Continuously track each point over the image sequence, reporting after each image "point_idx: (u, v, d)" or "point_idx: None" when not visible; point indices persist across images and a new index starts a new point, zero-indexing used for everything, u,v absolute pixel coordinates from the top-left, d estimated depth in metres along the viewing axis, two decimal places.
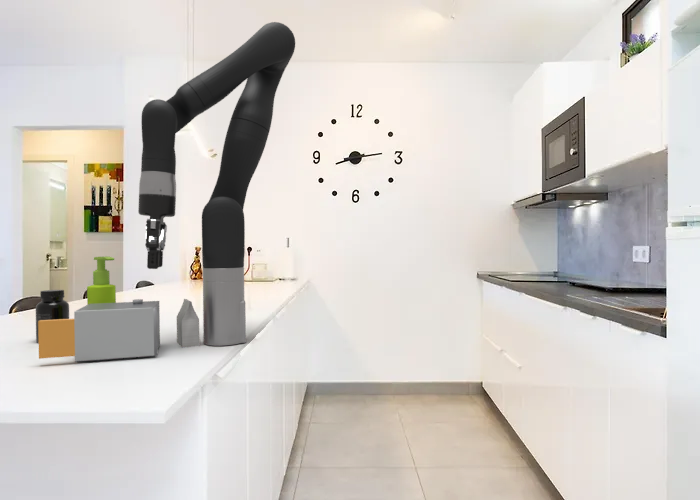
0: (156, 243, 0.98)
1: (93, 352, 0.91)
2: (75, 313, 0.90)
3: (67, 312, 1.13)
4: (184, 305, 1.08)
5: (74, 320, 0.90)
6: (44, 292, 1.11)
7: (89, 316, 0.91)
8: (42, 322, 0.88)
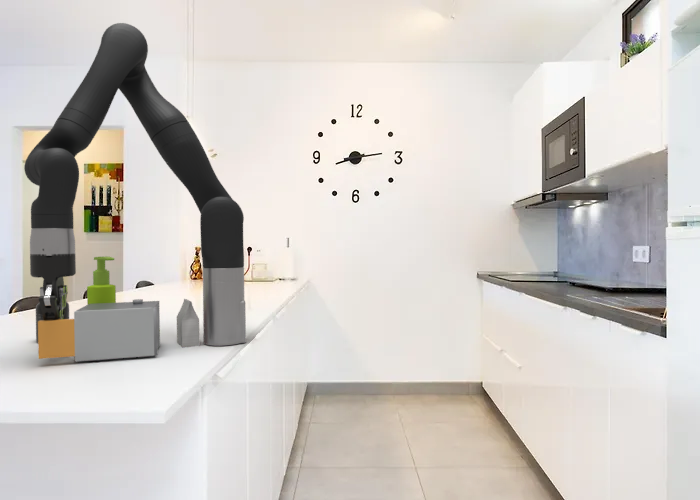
0: None
1: (93, 352, 0.91)
2: (75, 313, 0.90)
3: (67, 312, 1.13)
4: (184, 305, 1.08)
5: (74, 320, 0.90)
6: None
7: (89, 316, 0.91)
8: (42, 322, 0.88)
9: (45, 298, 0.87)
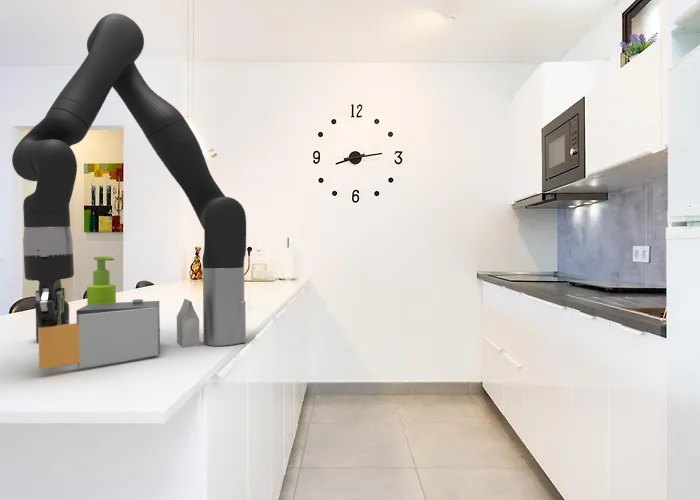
0: None
1: (98, 357, 0.87)
2: (80, 317, 0.85)
3: (67, 312, 1.13)
4: (184, 305, 1.08)
5: (79, 324, 0.85)
6: None
7: (94, 319, 0.87)
8: (44, 329, 0.81)
9: (41, 303, 0.80)
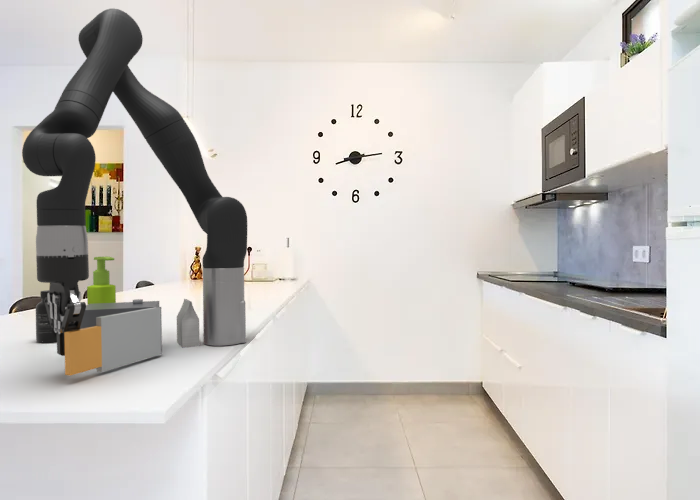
0: None
1: (116, 359, 0.85)
2: (102, 319, 0.82)
3: None
4: (184, 305, 1.08)
5: (101, 327, 0.82)
6: (44, 292, 1.11)
7: (113, 321, 0.84)
8: (73, 333, 0.77)
9: (76, 305, 0.76)
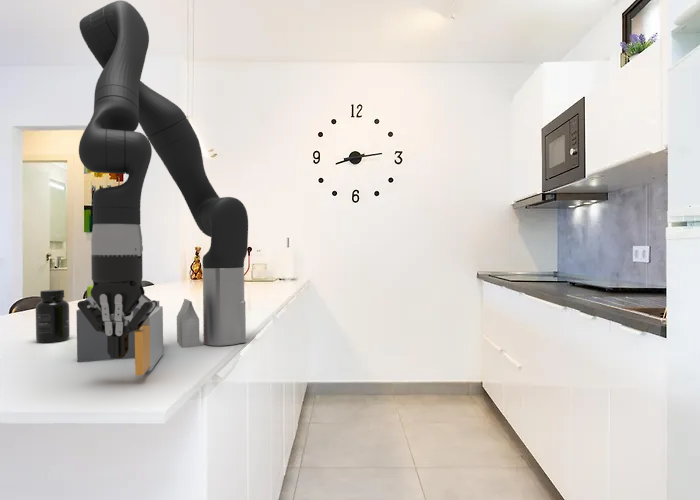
0: None
1: (153, 358, 0.86)
2: (150, 318, 0.83)
3: (67, 312, 1.13)
4: (184, 305, 1.08)
5: (149, 326, 0.82)
6: (44, 292, 1.11)
7: (152, 320, 0.85)
8: (143, 332, 0.77)
9: (153, 303, 0.77)
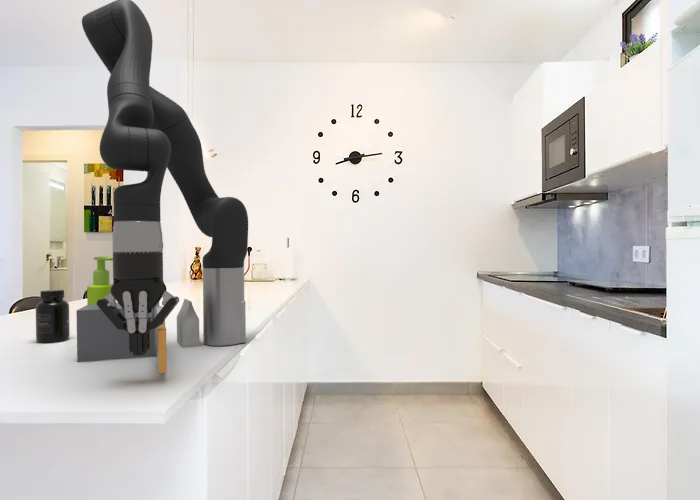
0: None
1: None
2: None
3: (67, 312, 1.13)
4: (184, 305, 1.08)
5: (164, 325, 0.83)
6: (44, 292, 1.11)
7: None
8: None
9: (177, 299, 0.78)
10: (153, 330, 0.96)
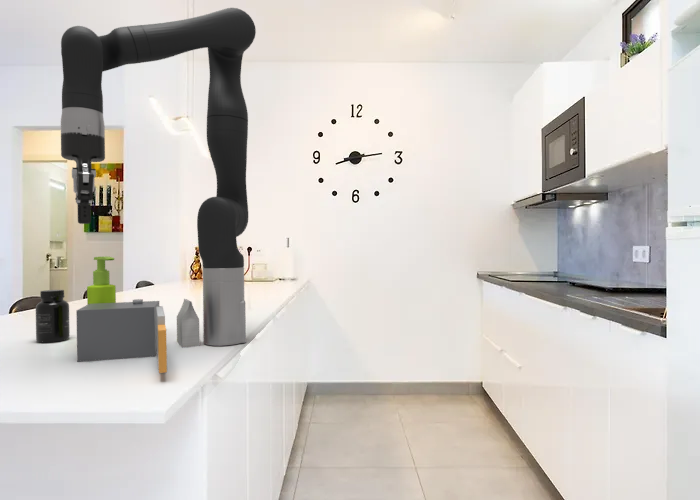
0: None
1: None
2: None
3: (67, 312, 1.13)
4: (184, 305, 1.08)
5: None
6: (44, 292, 1.11)
7: None
8: None
9: (84, 174, 0.88)
10: (153, 330, 0.96)
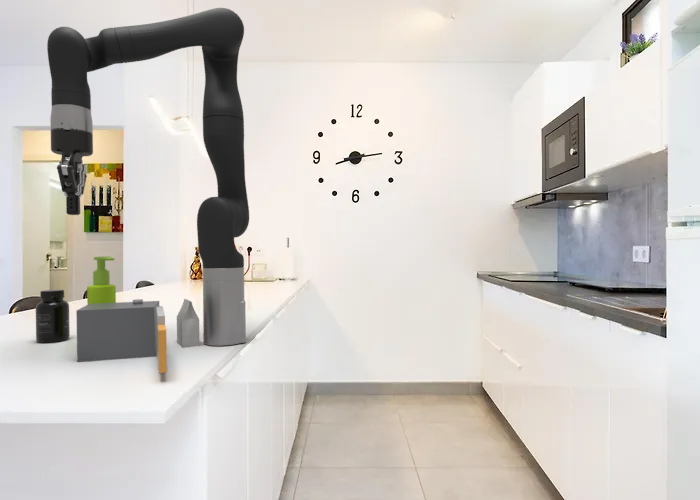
0: None
1: None
2: None
3: (67, 312, 1.13)
4: (184, 305, 1.08)
5: None
6: (44, 292, 1.11)
7: None
8: None
9: (63, 166, 0.92)
10: (153, 330, 0.96)
